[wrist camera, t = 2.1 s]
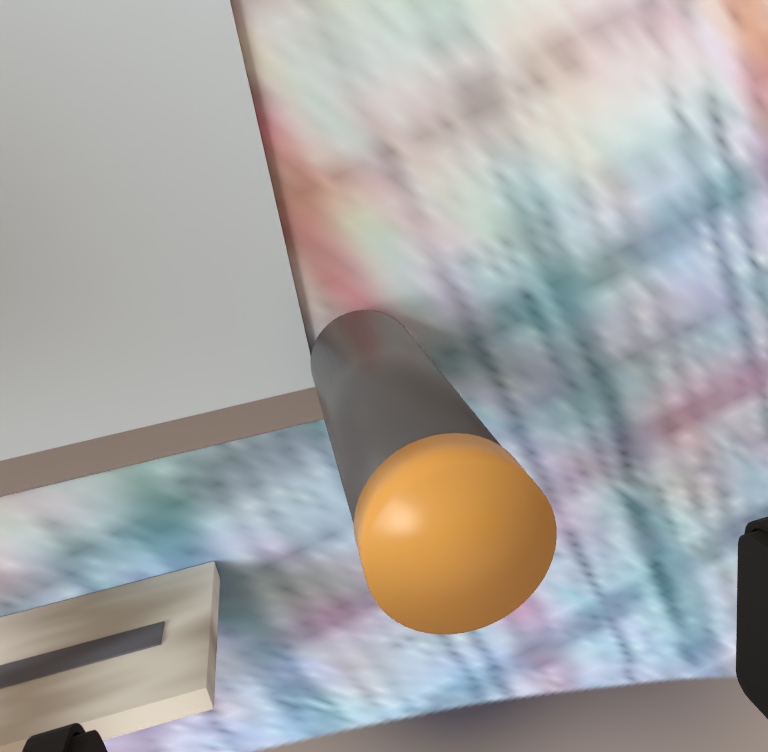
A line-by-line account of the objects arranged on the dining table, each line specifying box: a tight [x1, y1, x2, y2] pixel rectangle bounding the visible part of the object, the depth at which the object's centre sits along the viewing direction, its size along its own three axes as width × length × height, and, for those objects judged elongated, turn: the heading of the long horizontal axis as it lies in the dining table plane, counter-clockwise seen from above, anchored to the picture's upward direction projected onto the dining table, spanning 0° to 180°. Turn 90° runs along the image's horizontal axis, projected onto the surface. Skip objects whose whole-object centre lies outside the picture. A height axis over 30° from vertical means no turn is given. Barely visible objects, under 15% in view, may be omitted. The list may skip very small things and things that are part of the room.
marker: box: [310, 310, 557, 634], centre depth 17 cm, size 4×4×12 cm
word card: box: [0, 561, 220, 752], centre depth 21 cm, size 10×1×6 cm, turn 101°
